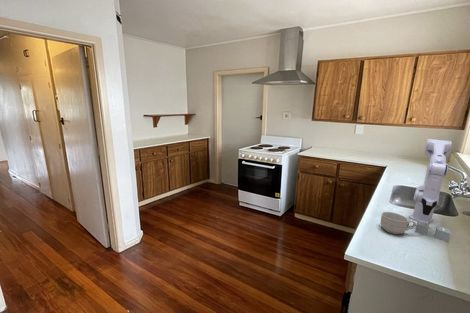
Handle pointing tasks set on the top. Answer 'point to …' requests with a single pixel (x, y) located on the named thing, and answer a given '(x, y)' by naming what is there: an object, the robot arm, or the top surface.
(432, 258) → the top surface
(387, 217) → the teacup
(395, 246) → the top surface
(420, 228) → the plain block
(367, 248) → the top surface
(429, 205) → the robot arm
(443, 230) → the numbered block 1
